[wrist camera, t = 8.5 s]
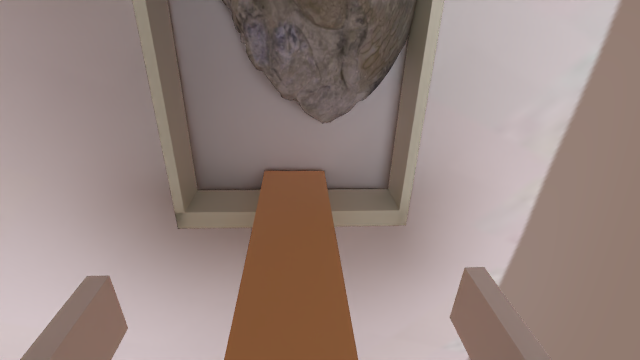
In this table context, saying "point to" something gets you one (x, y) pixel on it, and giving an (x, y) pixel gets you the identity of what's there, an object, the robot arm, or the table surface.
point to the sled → (288, 207)
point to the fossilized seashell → (323, 47)
